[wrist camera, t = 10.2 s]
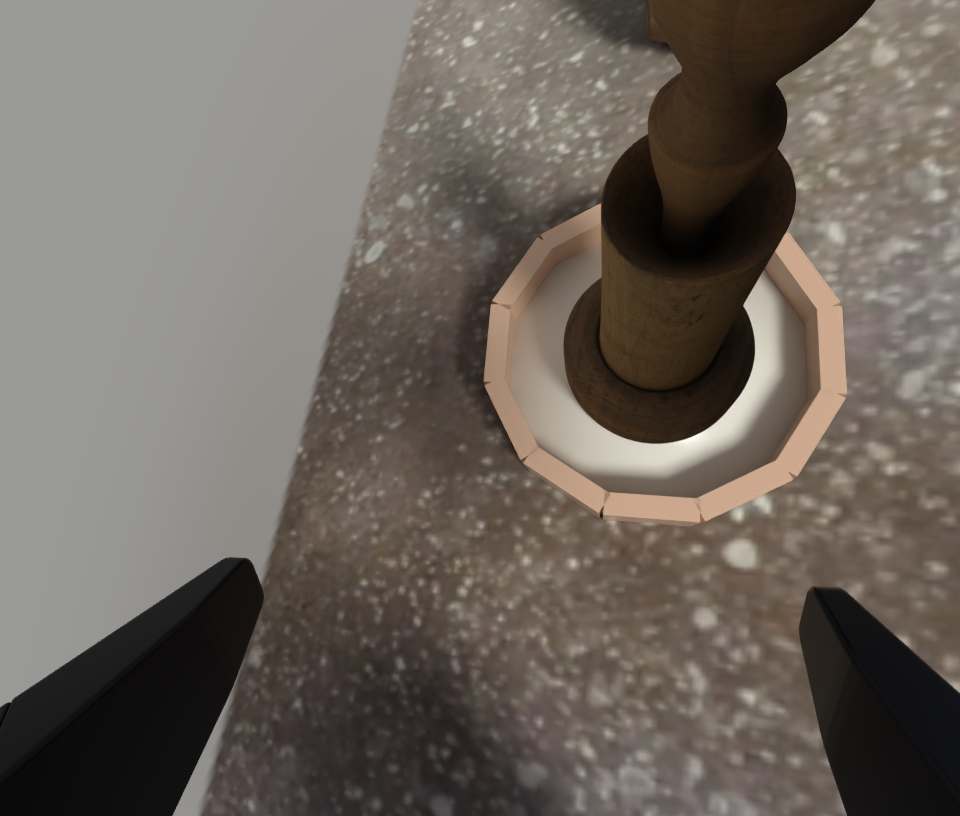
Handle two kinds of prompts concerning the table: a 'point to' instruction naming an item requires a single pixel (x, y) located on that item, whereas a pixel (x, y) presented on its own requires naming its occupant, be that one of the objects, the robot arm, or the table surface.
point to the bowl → (678, 465)
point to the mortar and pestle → (695, 219)
